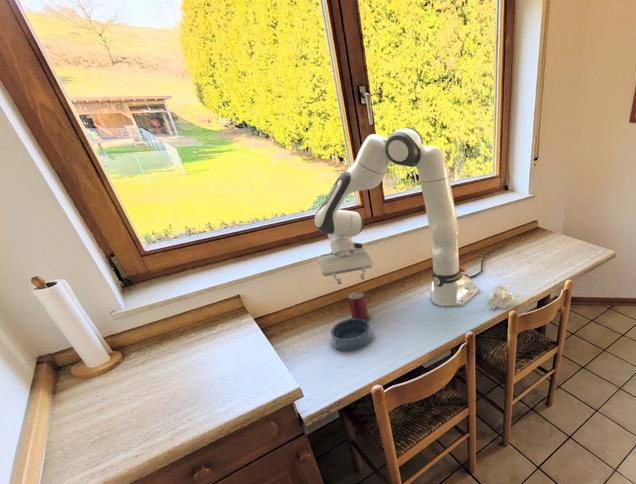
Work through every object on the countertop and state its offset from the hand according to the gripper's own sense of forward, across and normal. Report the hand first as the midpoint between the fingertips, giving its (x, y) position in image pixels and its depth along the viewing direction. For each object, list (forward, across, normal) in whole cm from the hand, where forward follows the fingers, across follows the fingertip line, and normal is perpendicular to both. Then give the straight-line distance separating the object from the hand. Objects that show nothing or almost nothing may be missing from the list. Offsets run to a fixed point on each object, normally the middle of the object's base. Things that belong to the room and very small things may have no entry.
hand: (351, 281), depth 146 cm
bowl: (+25, -5, -6) cm, 26 cm away
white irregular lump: (+27, +58, -8) cm, 64 cm away
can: (+16, 0, +3) cm, 16 cm away
